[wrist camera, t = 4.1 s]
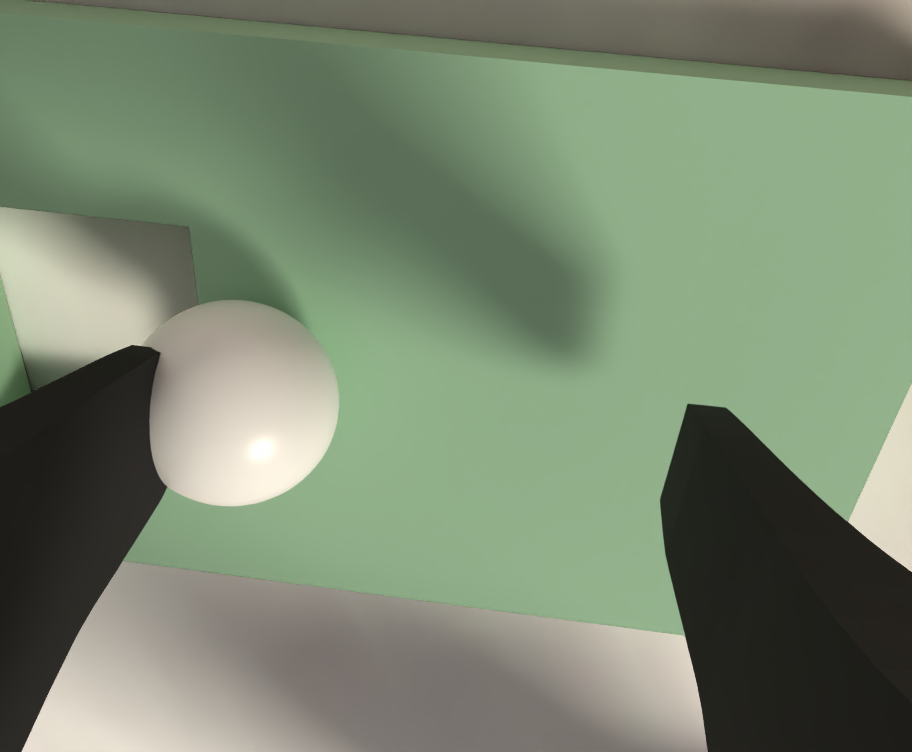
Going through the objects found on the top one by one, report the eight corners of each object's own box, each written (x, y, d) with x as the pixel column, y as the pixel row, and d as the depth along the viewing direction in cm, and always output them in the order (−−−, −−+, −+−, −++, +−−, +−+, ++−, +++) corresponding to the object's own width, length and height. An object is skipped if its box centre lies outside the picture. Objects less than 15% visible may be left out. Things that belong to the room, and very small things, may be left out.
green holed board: (969, 86, 12) (1104, 130, 9) (766, 584, 19) (808, 706, 16) (-242, -25, 14) (-464, -17, 11) (-58, 478, 20) (-165, 574, 17)
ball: (196, 402, 10) (78, 284, 12) (191, 584, 12) (90, 458, 13) (395, 340, 12) (271, 251, 14) (364, 499, 14) (259, 403, 16)
